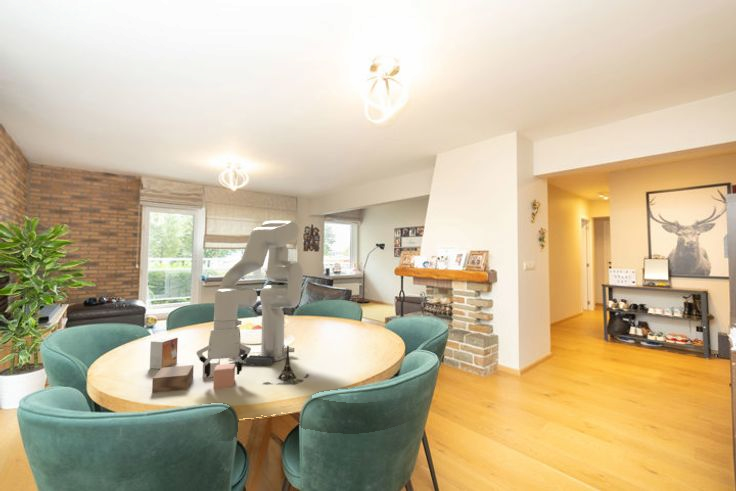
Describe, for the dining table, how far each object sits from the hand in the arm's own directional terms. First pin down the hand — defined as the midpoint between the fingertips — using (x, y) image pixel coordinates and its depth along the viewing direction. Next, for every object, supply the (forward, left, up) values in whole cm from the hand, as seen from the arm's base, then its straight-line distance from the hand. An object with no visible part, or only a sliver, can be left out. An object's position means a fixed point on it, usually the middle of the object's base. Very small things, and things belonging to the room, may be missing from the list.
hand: (223, 374), depth 111 cm
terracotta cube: (0, -1, -4) cm, 4 cm away
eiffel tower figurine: (-21, 0, -4) cm, 22 cm away
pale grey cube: (+6, -12, -4) cm, 13 cm away
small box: (+26, -27, -4) cm, 37 cm away
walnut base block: (+16, -4, -4) cm, 17 cm away
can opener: (-8, -21, -4) cm, 22 cm away
